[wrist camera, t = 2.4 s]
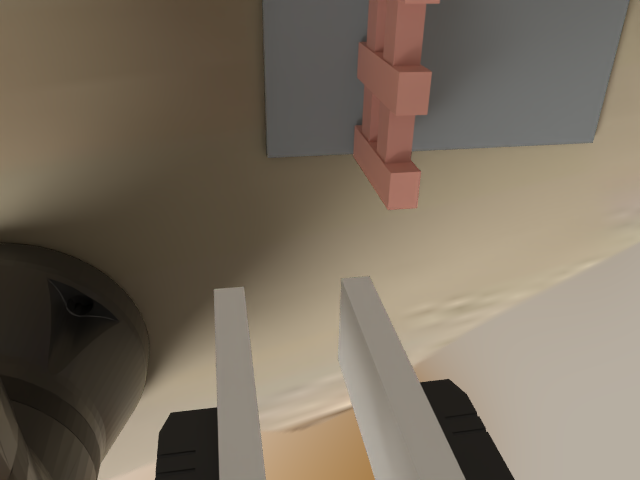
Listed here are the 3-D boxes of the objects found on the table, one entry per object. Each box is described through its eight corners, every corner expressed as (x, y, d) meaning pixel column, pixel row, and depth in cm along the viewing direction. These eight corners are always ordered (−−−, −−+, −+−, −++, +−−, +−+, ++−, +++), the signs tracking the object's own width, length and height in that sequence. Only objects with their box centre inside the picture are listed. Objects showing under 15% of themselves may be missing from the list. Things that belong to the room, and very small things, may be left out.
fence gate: (361, -112, 26) (413, -124, 20) (399, -111, 26) (463, -122, 20) (349, 158, 32) (385, 215, 26) (380, 156, 32) (423, 213, 26)
